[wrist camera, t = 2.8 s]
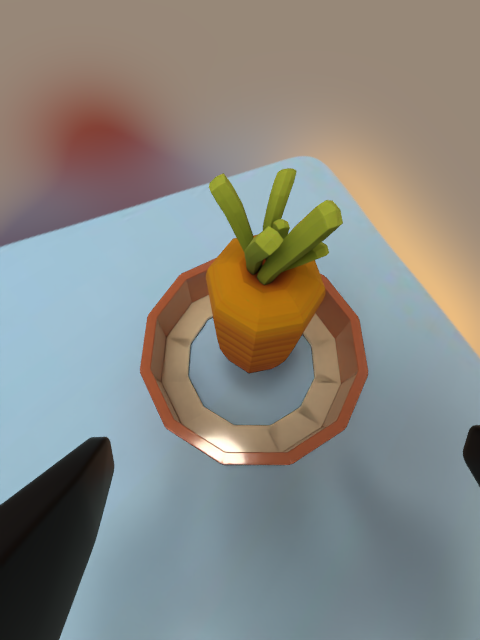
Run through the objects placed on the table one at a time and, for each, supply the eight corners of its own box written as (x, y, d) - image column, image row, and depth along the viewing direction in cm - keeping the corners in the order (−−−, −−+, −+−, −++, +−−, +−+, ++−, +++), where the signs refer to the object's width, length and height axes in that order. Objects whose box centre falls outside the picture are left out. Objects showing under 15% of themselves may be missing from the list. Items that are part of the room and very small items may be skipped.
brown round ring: (385, 397, 21) (413, 384, 18) (211, 511, 18) (207, 520, 15) (279, 255, 26) (285, 226, 23) (126, 327, 23) (109, 305, 20)
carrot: (202, 351, 22) (155, 171, 9) (259, 316, 24) (295, 111, 10) (242, 412, 21) (261, 304, 7) (301, 370, 22) (414, 211, 8)
